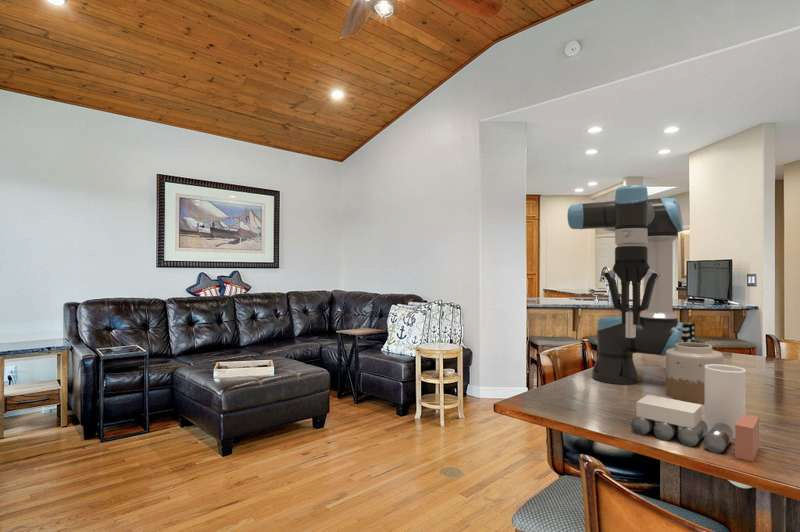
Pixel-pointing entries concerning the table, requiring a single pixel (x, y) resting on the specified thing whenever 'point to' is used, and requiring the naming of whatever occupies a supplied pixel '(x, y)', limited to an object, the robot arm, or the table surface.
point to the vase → (689, 370)
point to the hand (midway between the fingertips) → (630, 337)
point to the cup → (724, 395)
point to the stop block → (747, 437)
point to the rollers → (687, 433)
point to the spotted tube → (688, 332)
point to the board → (669, 411)
